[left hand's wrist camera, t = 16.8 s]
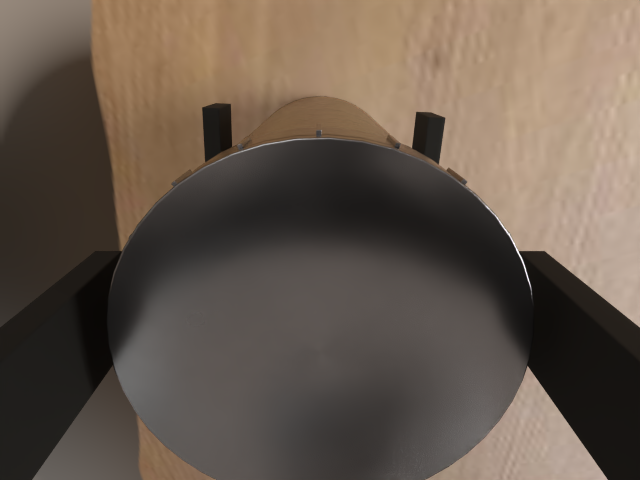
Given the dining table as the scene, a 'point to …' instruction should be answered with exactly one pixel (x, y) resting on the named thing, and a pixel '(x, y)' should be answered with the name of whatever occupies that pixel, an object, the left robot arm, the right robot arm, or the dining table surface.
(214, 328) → the lid
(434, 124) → the right robot arm
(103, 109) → the dining table surface
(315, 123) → the jar
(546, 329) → the left robot arm
